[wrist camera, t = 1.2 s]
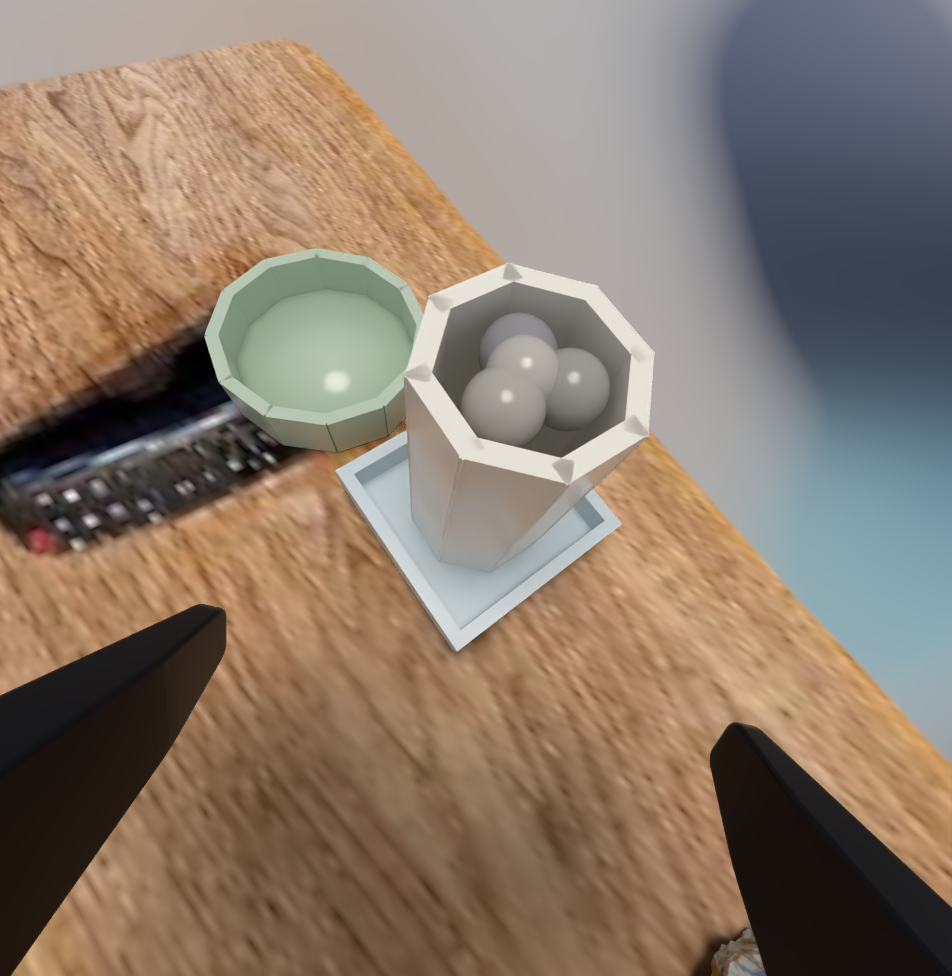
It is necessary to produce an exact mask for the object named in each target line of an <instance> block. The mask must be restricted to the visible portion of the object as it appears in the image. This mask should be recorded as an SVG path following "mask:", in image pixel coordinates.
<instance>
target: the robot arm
mask: <svg viewBox="0 0 952 976" xmlns="http://www.w3.org/2000/svg"><path fill="white" fill-rule="evenodd" d="M225 649H226V612H225V610H224V609H222V608H219V607H214V606H210V605H205V604H199V605H195V606H193V607H191V608H189V609H186V610H184V611H182V612H180V613H178V614H176V615H173V616H171V617H169V618H167V619H165V620H163V621H160V622H158V623H156V624H154V625H152V626H150V627H147V628H145V629H143V630H141V631H139V632H137V633H134V634H132V635H130V636H128V637H126V638H124V639H121V640H119V641H117V642H115V643H113V644H111V645H108V646H106V647H104V648H102V649H100V650H98V651H95V652H93V653H91V654H89V655H87V656H85V657H82V658H80V659H78V660H76V661H74V662H72V663H69V664H67V665H65V666H63V667H61V668H59V669H56V670H54V671H52V672H50V673H48V674H46V675H44V676H41V677H39V678H37V679H35V680H33V681H31V682H28V683H26V684H24V685H22V686H20V687H18V688H15V689H13V690H11V691H9V692H7V693H5V694H2V695H0V976H11V975H12V973H13V972H14V970H15V969H16V967H17V966H18V965H19V963H20V962H21V960H22V959H23V958H24V956H25V955H26V953H27V952H28V950H29V949H30V948H31V946H32V945H33V943H34V942H35V940H36V939H37V938H38V936H39V935H40V933H41V932H42V931H43V929H44V928H45V926H46V925H47V923H48V922H49V921H50V919H51V918H52V916H53V915H54V913H55V912H56V911H57V909H58V908H59V906H60V905H61V904H62V902H63V901H64V899H65V898H66V896H67V895H68V894H69V892H70V891H71V889H72V888H73V886H74V885H75V884H76V882H77V881H78V879H79V878H80V877H81V875H82V874H83V872H84V871H85V869H86V868H87V867H88V865H89V864H90V862H91V861H92V859H93V858H94V857H95V855H96V854H97V852H98V851H99V850H100V848H101V847H102V845H103V844H104V842H105V841H106V840H107V838H108V837H109V835H110V834H111V833H112V831H113V830H114V828H115V827H116V825H117V824H118V823H119V821H120V820H121V818H122V817H123V815H124V814H125V813H126V811H127V810H128V808H129V807H130V806H131V804H132V803H133V801H134V800H135V798H136V797H137V796H138V794H139V793H140V791H141V790H142V788H143V787H144V786H145V784H146V783H147V781H148V780H149V779H150V777H151V776H152V774H153V773H154V771H155V770H156V769H157V767H158V766H159V764H160V763H161V761H162V760H163V758H164V757H165V755H166V754H167V752H168V751H169V749H170V748H171V746H172V745H173V743H174V741H175V740H176V738H177V736H178V735H179V733H180V731H181V729H182V728H183V726H184V724H185V722H186V721H187V719H188V717H189V715H190V714H191V712H192V710H193V708H194V707H195V705H196V703H197V701H198V700H199V698H200V696H201V694H202V693H203V691H204V689H205V687H206V686H207V684H208V682H209V680H210V679H211V677H212V675H213V673H214V672H215V670H216V668H217V666H218V665H219V663H220V661H221V659H222V657H223V655H224V652H225ZM710 767H711V772H712V777H713V781H714V786H715V790H716V795H717V799H718V804H719V808H720V813H721V817H722V822H723V827H724V831H725V836H726V840H727V845H728V849H729V853H730V857H731V861H732V865H733V869H734V872H735V876H736V879H737V883H738V886H739V889H740V892H741V896H742V899H743V902H744V905H745V909H746V912H747V915H748V918H749V922H750V925H751V928H752V931H753V935H754V938H755V941H756V944H757V948H758V951H759V954H760V957H761V961H762V964H763V967H764V970H765V973H766V976H952V907H951V906H950V905H949V904H948V903H946V902H945V901H944V900H943V899H942V898H941V897H940V896H939V895H938V894H937V893H936V892H935V891H934V890H933V889H931V888H930V887H929V886H928V885H927V884H926V883H925V882H924V881H923V880H922V879H921V878H920V877H919V876H917V875H916V874H915V873H914V872H913V871H912V870H911V869H910V868H909V867H908V866H907V865H906V864H905V863H903V862H902V861H901V860H900V859H899V858H898V857H897V856H896V855H895V854H894V853H893V852H892V851H891V850H890V849H888V848H887V847H886V846H885V845H884V844H883V843H882V842H881V841H880V840H879V839H878V838H877V837H876V836H874V835H873V834H872V833H871V832H870V831H869V830H868V829H867V828H866V827H865V826H864V825H863V824H862V823H860V822H859V821H858V820H857V819H856V818H855V817H854V816H853V815H852V814H851V813H850V812H849V811H848V810H847V809H845V808H844V807H843V806H842V805H841V804H840V803H839V802H838V801H837V800H836V799H835V798H834V797H833V796H831V795H830V794H829V793H828V792H827V791H826V790H825V789H824V788H823V787H822V786H821V785H820V784H819V783H817V782H816V781H815V780H814V779H813V778H812V777H811V776H810V775H809V774H808V773H807V772H806V771H805V770H804V769H802V768H801V767H800V766H799V765H798V764H797V763H796V762H795V761H794V760H793V759H792V758H791V757H790V756H788V755H787V754H786V753H785V752H784V751H783V750H782V749H781V748H780V747H779V746H778V745H777V744H776V743H775V742H773V741H772V740H771V739H770V738H769V737H768V736H767V735H766V734H765V733H764V732H763V731H762V730H760V729H759V728H757V727H755V726H752V725H747V724H743V723H738V722H733V723H731V724H729V725H728V726H727V728H726V729H725V731H724V732H723V734H722V735H721V737H720V738H719V740H718V741H717V743H716V744H715V746H714V747H713V749H712V750H711V754H710Z"/></svg>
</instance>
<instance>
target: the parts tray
mask: <svg viewBox="0 0 952 976" xmlns="http://www.w3.org/2000/svg"><path fill="white" fill-rule="evenodd" d="M335 471H336V473H337V475H338V477H339V480H340V482H341V484H342V486H343V488H344V490H345V492H346V493H347V495H348V496H349V498H350V499H351V501H352V502H353V504H354V505H355V507H356V508H357V510H358V511H359V512H360V514H361V515H362V517H363V518H364V520H365V521H366V523H367V524H368V526H369V527H370V529H371V530H372V532H373V533H374V535H375V536H376V538H377V539H378V541H379V542H380V544H381V545H382V547H383V548H384V550H385V551H386V553H387V554H388V556H389V557H390V559H391V560H392V562H393V563H394V565H395V566H396V568H397V569H398V571H399V572H400V574H401V575H402V577H403V578H404V580H405V581H406V583H407V584H408V586H409V587H410V589H411V590H412V592H413V593H414V595H415V596H416V598H417V599H418V601H419V602H420V604H421V605H422V607H423V608H424V610H425V611H426V612H427V614H428V615H429V617H430V618H431V620H432V621H433V623H434V624H435V626H436V627H437V629H438V630H439V632H440V633H441V635H442V636H443V638H444V639H445V641H446V642H447V644H448V645H449V647H450V648H451V650H452V651H453V652H457V651H459V650H460V649H461V648H462V647H464V646H465V645H466V644H468V643H469V642H470V641H472V640H473V639H474V638H475V637H477V636H478V635H479V634H481V633H482V632H483V631H484V630H486V629H487V628H488V627H490V626H491V625H492V624H493V623H495V622H496V621H497V620H499V619H500V618H501V617H503V616H504V615H505V614H506V613H508V612H509V611H510V610H512V609H513V608H514V607H515V606H517V605H518V604H519V603H521V602H522V601H523V600H524V599H526V598H527V597H528V596H530V595H531V594H532V593H533V592H535V591H536V590H537V589H539V588H540V587H541V586H543V585H544V584H545V583H546V582H548V581H549V580H550V579H552V578H553V577H554V576H555V575H557V574H558V573H559V572H561V571H562V570H563V569H564V568H566V567H567V566H568V565H570V564H571V563H572V562H573V561H575V560H576V559H577V558H579V557H580V556H581V555H583V554H584V553H585V552H586V551H588V550H589V549H590V548H592V547H593V546H594V545H595V544H597V543H598V542H599V541H601V540H602V539H603V538H604V537H606V536H607V535H608V534H610V533H611V532H612V531H613V530H615V529H616V528H617V527H619V526H620V525H621V524H622V523H621V522H620V521H619V520H618V518H617V517H616V516H615V515H614V513H613V512H612V511H611V510H610V509H609V507H608V506H607V505H606V504H605V503H604V501H603V500H602V499H601V498H600V496H599V495H598V494H597V493H596V492H595V490H594V489H592V490H591V491H590V492H589V493H588V494H587V495H586V496H585V497H584V498H583V499H582V500H581V501H580V502H578V503H577V504H576V505H575V506H574V507H573V508H572V509H571V510H570V511H569V512H568V513H567V514H566V515H565V516H564V517H563V518H561V519H560V520H559V521H558V522H557V523H556V524H555V525H554V526H553V527H552V528H551V529H550V530H549V531H548V532H547V533H546V534H544V535H543V536H542V537H541V538H540V539H539V540H538V541H537V542H536V543H535V544H534V545H533V546H532V547H529V548H527V549H526V550H524V551H523V552H521V553H520V554H518V555H517V556H515V557H514V558H512V559H510V560H509V561H507V562H506V563H504V564H503V565H501V566H500V567H498V568H497V569H495V570H494V571H492V573H487V572H483V571H479V570H474V569H470V568H466V567H461V566H457V565H453V564H448V563H444V562H439V561H438V559H437V558H436V556H435V554H434V553H433V551H432V550H431V548H430V546H429V545H428V543H427V542H426V540H425V538H424V537H423V535H422V533H421V532H420V530H419V529H418V527H417V525H416V524H415V522H414V521H413V519H412V517H411V501H410V483H409V465H408V447H407V430H406V431H404V432H402V433H400V434H399V435H397V436H395V437H393V438H392V439H390V440H388V441H386V442H385V443H383V444H381V445H379V446H377V447H376V448H374V449H372V450H370V451H369V452H367V453H365V454H363V455H362V456H360V457H358V458H356V459H355V460H353V461H351V462H349V463H348V464H346V465H344V466H342V467H341V468H339V469H337V470H335Z"/></svg>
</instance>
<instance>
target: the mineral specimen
mask: <svg viewBox="0 0 952 976" xmlns="http://www.w3.org/2000/svg"><path fill="white" fill-rule="evenodd" d="M711 969H712V975H711V976H766V973H765V970H764V967H763V964H762V961H761V957H760V954H759V951H758V948H757V944H756V941H755V938H754V935H753V932H752V931H751V930H750V929H746V930H744V931H743V932H742V936H741V937H740V938H739V939H737V940H736V942H735V941H732V940H730V942H729V943H728V945H724V944H721V947H720V949H719V951H717V952H715V954H714V956H713V959H712V961H711Z"/></svg>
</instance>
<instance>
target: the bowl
mask: <svg viewBox="0 0 952 976" xmlns="http://www.w3.org/2000/svg"><path fill="white" fill-rule="evenodd" d="M264 260H265V261H263V260H262V261H261V262H260V263H258V264H257V265H255V266H254V267H253V268H251V269H250V270H249V271H247V272H246V273H245V274H243V275H242V276H241V277H239V278H238V279H237V280H235V281H234V282H233V283H231V284H230V285H229V286H227V287H226V288H225V289H223V291H222V292H221V294H220V297H219V299H218V302H217V304H216V307H215V309H214V312H213V314H212V317H211V319H210V322H209V325H208V327H207V330H206V332H205V340H206V343H207V346H208V349H209V352H210V356H211V359H212V362H213V365H214V369H215V372H216V375H217V378H218V381H219V383H220V384H221V386H222V387H223V388H224V390H225V391H226V392H227V394H228V395H229V396H230V398H231V399H232V401H233V402H234V403H235V405H236V406H237V407H238V409H239V410H240V411H241V413H242V414H243V415H244V416H245V417H246V418H248V419H249V420H250V421H252V422H253V423H254V424H256V425H257V426H258V427H260V428H261V429H262V430H264V431H265V432H266V433H268V434H269V435H270V436H272V437H273V438H274V439H276V440H277V441H278V442H279V443H281V444H282V445H285V446H292V447H300V448H307V449H314V450H321V451H328V452H335V453H337V450H338V452H341V451H344V450H347V449H350V448H353V447H356V446H359V445H362V444H365V443H368V442H371V441H374V440H377V439H380V438H383V437H386V436H388V435H390V434H391V432H392V431H393V430H394V429H395V428H396V427H397V426H398V425H399V424H400V423H401V422H402V421H403V420H404V419H405V417H406V411H405V393H404V375H403V373H404V372H406V369H407V366H408V363H409V359H410V356H411V353H412V350H413V347H414V344H415V341H416V337H417V334H418V331H419V328H420V325H421V322H422V319H423V316H424V314H423V312H422V310H421V308H420V306H419V304H418V302H417V300H416V298H415V296H414V294H413V292H412V290H411V288H410V286H409V285H408V283H406V282H405V281H403V280H402V279H400V278H399V277H397V276H396V275H394V274H393V273H391V272H390V271H388V270H387V269H385V268H384V267H382V266H381V265H379V264H378V263H376V262H375V261H373V260H372V259H370V258H368V257H364V256H359V255H353V254H347V253H341V252H336V251H330V250H324V249H318V248H317V250H316V248H315V249H310V250H305V251H301V252H296V253H292V254H287V255H282V256H278V257H273V258H268V259H264ZM387 434H388V435H387Z"/></svg>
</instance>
